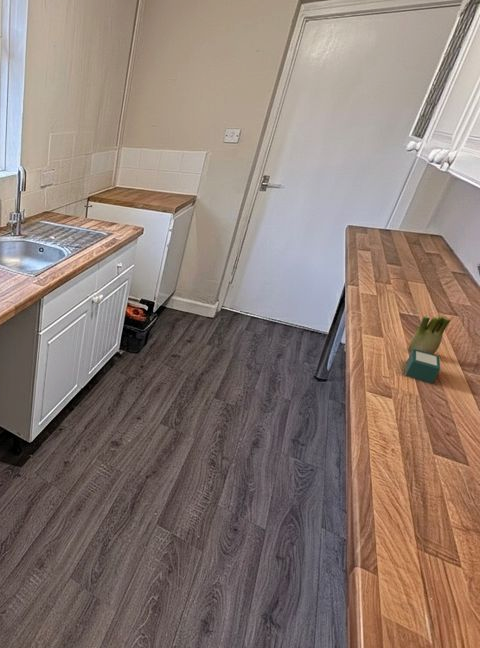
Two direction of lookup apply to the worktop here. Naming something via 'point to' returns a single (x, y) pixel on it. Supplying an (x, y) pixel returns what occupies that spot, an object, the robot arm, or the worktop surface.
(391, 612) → the worktop surface
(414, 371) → the tea packet
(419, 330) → the fennel bulb
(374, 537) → the worktop surface
